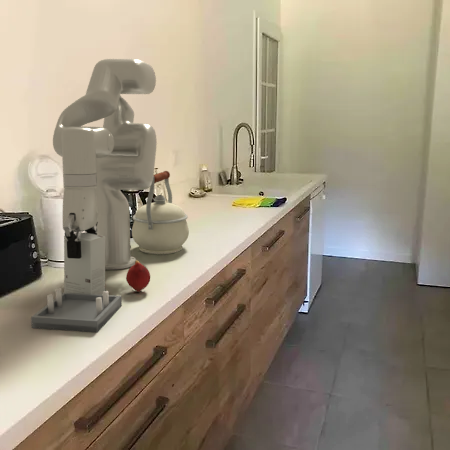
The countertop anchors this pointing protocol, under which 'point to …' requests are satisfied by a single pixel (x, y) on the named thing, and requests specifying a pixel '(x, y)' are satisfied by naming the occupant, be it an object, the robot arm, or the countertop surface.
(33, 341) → the countertop surface
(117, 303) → the pin tray
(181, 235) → the kettle
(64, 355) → the countertop surface
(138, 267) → the onion
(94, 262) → the skincare box
